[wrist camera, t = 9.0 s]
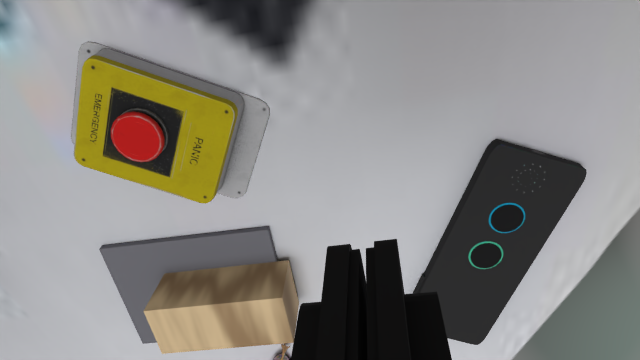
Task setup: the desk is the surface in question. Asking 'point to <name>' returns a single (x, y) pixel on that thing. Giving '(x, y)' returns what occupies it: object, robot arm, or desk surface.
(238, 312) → the oak block
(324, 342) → the robot arm
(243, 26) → the desk surface
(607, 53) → the desk surface
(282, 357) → the pink creature figurine
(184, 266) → the charcoal mat
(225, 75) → the desk surface
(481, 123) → the desk surface
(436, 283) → the smart home device
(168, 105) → the emergency button
